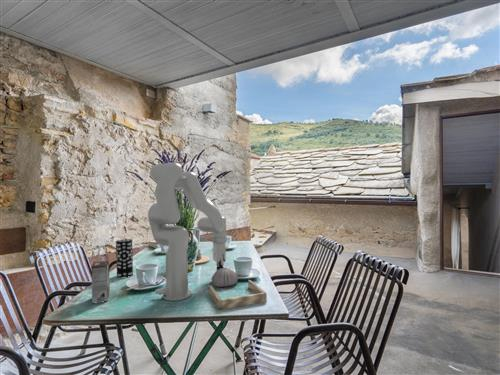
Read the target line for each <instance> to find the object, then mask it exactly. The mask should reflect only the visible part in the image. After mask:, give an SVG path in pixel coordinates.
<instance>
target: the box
mask: <svg viewBox="0 0 500 375" xmlns="http://www.w3.org/2000/svg"><path fill="white" fill-rule="evenodd" d="M247 280H248V281H247V284H248V285H247V287H248V289H249V290H250V291H251V292H252V293H253V294H252V293H251V294H247V295H240V296H233V297H228V298H221V296H219V294H218V293H217V291H216V289H214V287H213V286H212V285H208V294H209V296H210V297H211V299H212V301H213V302H214V304H215V305H216V307H217V308H218V309H219V310H226V309H231V308H238V307H243V306H248V305H254V304H260V303H267V301H268V299H267V298H268V297H267V294H268V293H267V292H266V291H265V290H263V289H262V288H261V287H260V286H258V285H257V284H256V283H255V282H253V281H252V280H251V279H247Z"/></svg>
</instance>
